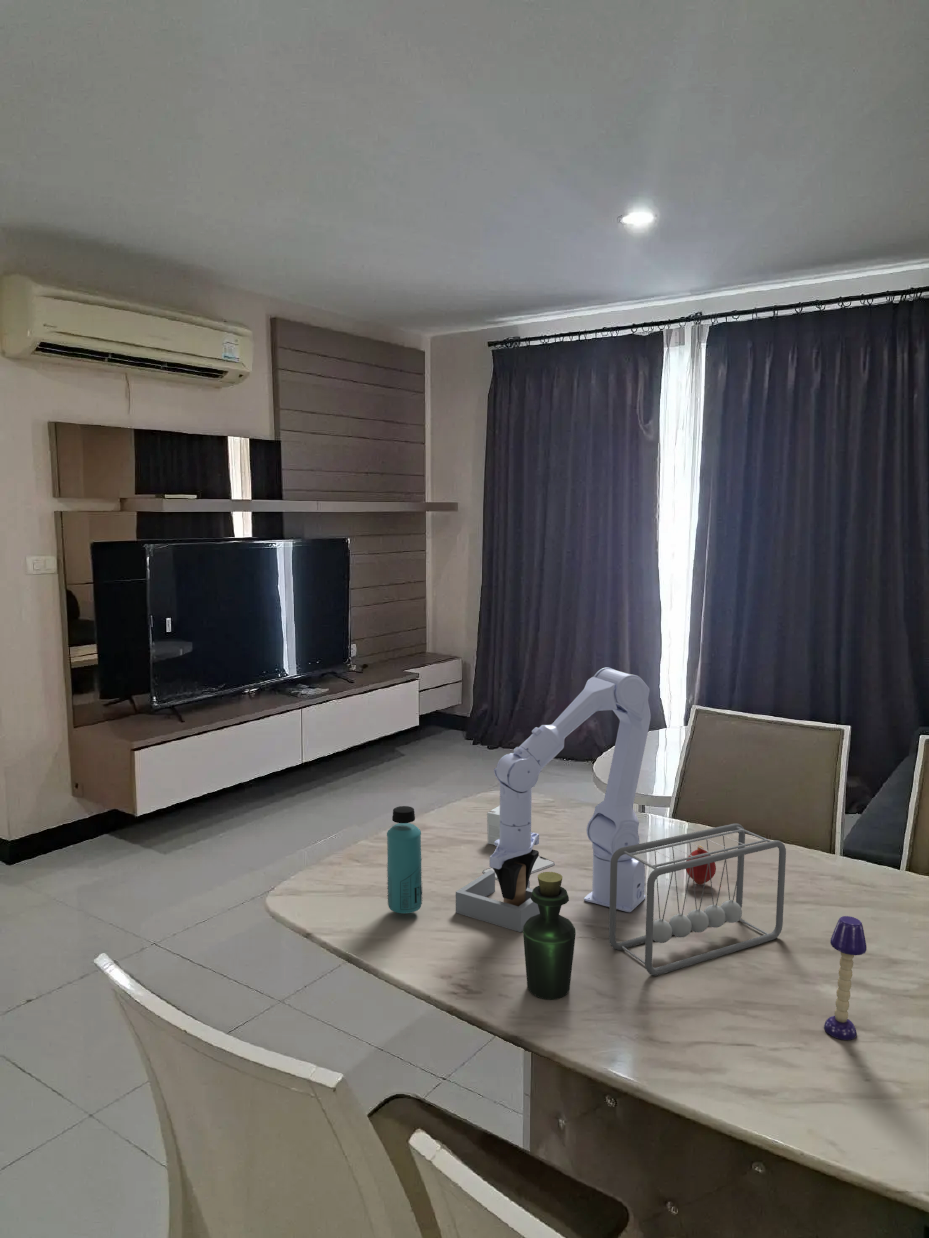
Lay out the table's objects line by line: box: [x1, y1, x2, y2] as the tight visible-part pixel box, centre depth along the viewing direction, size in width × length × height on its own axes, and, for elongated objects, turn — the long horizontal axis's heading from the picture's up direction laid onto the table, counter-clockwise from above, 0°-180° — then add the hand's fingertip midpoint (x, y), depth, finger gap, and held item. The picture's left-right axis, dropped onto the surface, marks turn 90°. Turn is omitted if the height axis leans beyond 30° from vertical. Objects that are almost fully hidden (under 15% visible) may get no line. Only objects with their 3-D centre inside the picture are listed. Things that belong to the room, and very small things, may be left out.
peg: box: [502, 862, 526, 906], centre depth 156 cm, size 4×4×9 cm
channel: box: [455, 870, 540, 933], centre depth 159 cm, size 14×12×4 cm
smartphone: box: [482, 855, 556, 881], centre depth 178 cm, size 7×1×15 cm
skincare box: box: [486, 805, 500, 846], centre depth 193 cm, size 6×6×7 cm
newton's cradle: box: [608, 823, 787, 977], centre depth 146 cm, size 30×10×18 cm, turn 118°
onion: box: [685, 845, 717, 886], centre depth 170 cm, size 6×6×8 cm
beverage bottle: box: [386, 805, 424, 914], centre depth 156 cm, size 6×7×20 cm
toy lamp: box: [823, 915, 868, 1041], centre depth 120 cm, size 5×5×17 cm
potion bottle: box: [522, 871, 576, 1000], centre depth 131 cm, size 8×8×18 cm
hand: (514, 893), depth 156 cm, fingers closed on peg, 4 cm apart
